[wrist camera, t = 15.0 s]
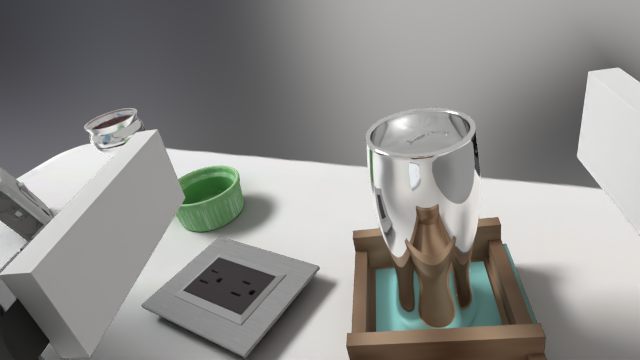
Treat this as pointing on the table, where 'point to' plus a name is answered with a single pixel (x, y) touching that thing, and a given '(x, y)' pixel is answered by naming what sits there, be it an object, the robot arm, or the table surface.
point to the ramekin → (210, 198)
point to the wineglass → (113, 130)
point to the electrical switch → (21, 207)
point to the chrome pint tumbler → (427, 211)
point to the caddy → (447, 343)
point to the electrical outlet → (232, 293)
